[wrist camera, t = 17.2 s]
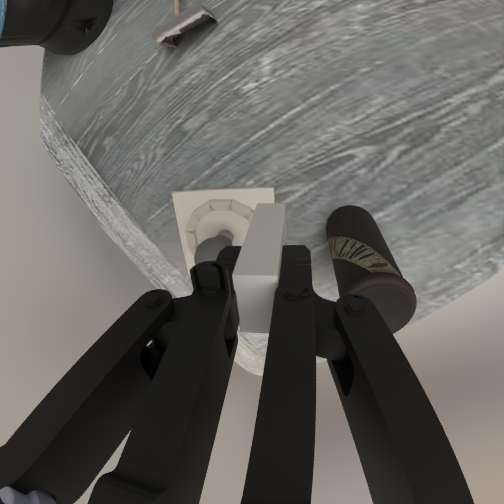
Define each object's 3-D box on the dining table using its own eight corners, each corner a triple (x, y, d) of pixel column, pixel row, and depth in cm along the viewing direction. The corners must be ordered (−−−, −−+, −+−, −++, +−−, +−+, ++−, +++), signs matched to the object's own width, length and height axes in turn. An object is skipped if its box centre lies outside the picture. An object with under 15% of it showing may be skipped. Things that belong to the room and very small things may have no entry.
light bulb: (204, 243, 47) (184, 279, 39) (213, 213, 44) (193, 244, 35) (238, 256, 47) (225, 294, 39) (249, 226, 44) (238, 261, 36)
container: (350, 192, 40) (386, 266, 23) (388, 228, 42) (433, 312, 25) (312, 231, 44) (319, 322, 27) (351, 262, 46) (373, 356, 29)
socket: (190, 273, 52) (187, 279, 50) (173, 190, 44) (169, 194, 42) (277, 275, 49) (276, 282, 48) (274, 186, 41) (273, 190, 40)
